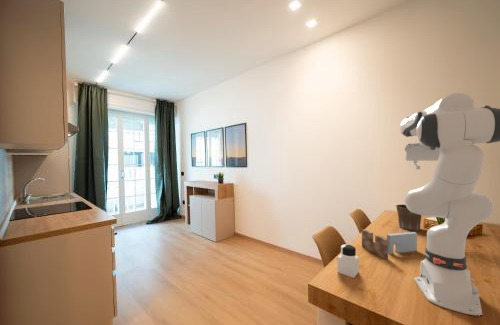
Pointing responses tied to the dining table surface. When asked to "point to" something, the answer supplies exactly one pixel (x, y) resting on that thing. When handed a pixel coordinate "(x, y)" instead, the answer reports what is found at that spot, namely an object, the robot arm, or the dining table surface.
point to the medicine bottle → (348, 261)
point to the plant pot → (408, 218)
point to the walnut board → (375, 244)
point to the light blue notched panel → (402, 242)
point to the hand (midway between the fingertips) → (429, 169)
